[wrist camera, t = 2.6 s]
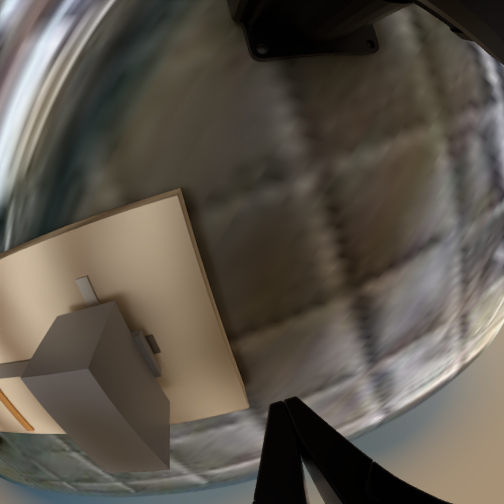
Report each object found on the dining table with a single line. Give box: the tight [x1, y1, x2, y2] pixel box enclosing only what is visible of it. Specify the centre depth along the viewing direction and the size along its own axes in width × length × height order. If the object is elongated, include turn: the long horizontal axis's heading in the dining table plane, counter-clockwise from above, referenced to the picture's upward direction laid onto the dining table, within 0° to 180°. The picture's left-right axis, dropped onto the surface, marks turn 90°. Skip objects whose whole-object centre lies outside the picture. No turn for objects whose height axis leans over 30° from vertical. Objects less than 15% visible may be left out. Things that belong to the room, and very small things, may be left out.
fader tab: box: [20, 301, 170, 473], centre depth 10 cm, size 4×6×4 cm, turn 13°
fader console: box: [0, 188, 249, 434], centre depth 13 cm, size 22×12×2 cm, turn 103°
